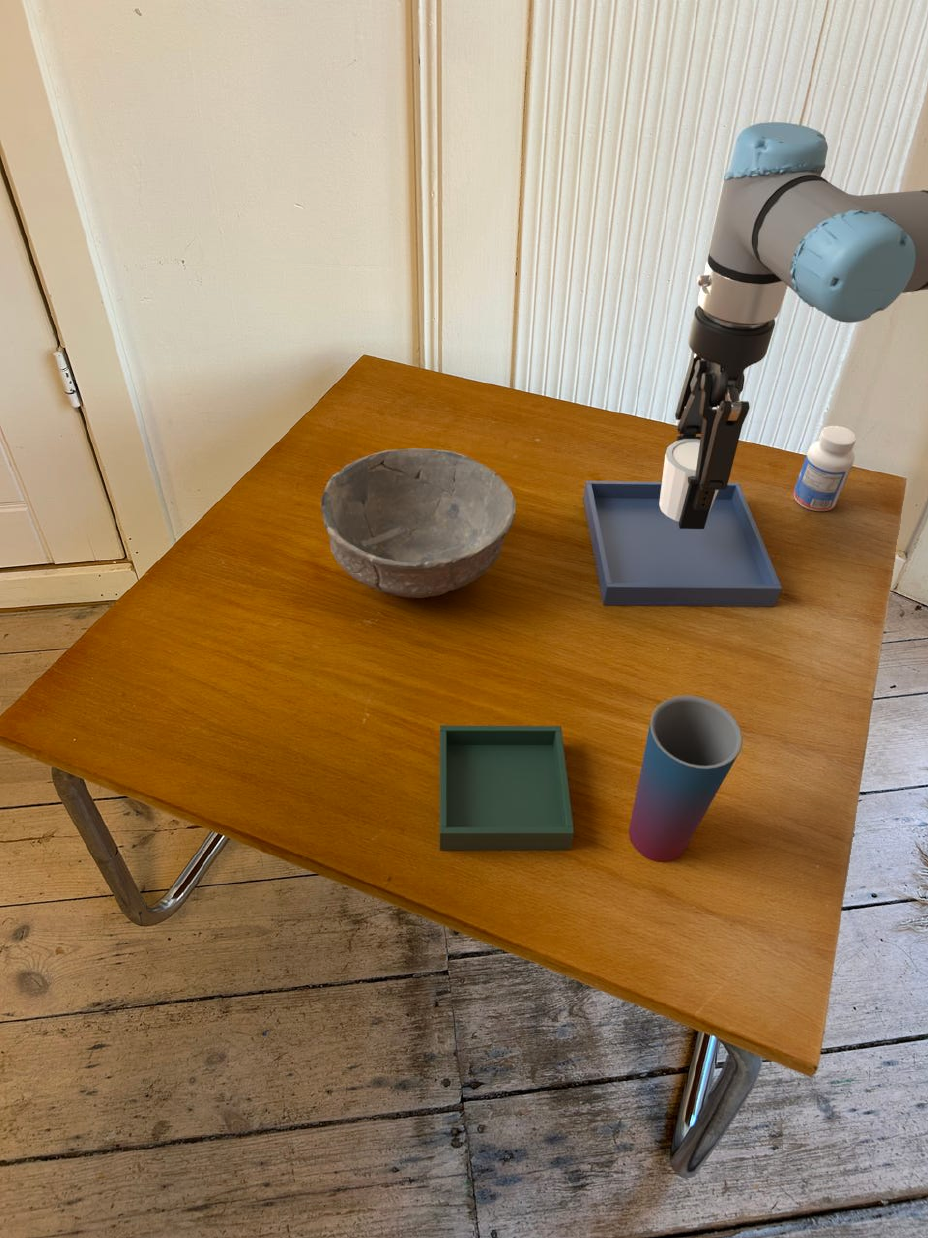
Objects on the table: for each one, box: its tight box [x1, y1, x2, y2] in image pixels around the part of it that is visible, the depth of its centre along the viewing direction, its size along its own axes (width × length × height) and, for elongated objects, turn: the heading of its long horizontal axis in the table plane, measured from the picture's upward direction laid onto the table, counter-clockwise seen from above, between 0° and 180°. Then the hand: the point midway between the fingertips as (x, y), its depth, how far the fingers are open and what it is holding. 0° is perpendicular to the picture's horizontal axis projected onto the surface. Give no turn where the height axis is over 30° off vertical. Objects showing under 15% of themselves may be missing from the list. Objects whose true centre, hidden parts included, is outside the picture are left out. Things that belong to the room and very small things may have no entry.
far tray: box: [582, 480, 783, 608], centre depth 101 cm, size 19×19×3 cm
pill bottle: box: [793, 425, 857, 512], centre depth 106 cm, size 6×5×10 cm
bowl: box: [320, 447, 517, 599], centre depth 95 cm, size 21×21×10 cm
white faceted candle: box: [659, 439, 719, 521], centre depth 95 cm, size 7×7×7 cm
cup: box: [628, 695, 743, 863], centre depth 69 cm, size 7×7×15 cm
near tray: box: [438, 725, 575, 851], centre depth 76 cm, size 11×11×3 cm
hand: (684, 505), depth 97 cm, fingers closed on white faceted candle, 7 cm apart
